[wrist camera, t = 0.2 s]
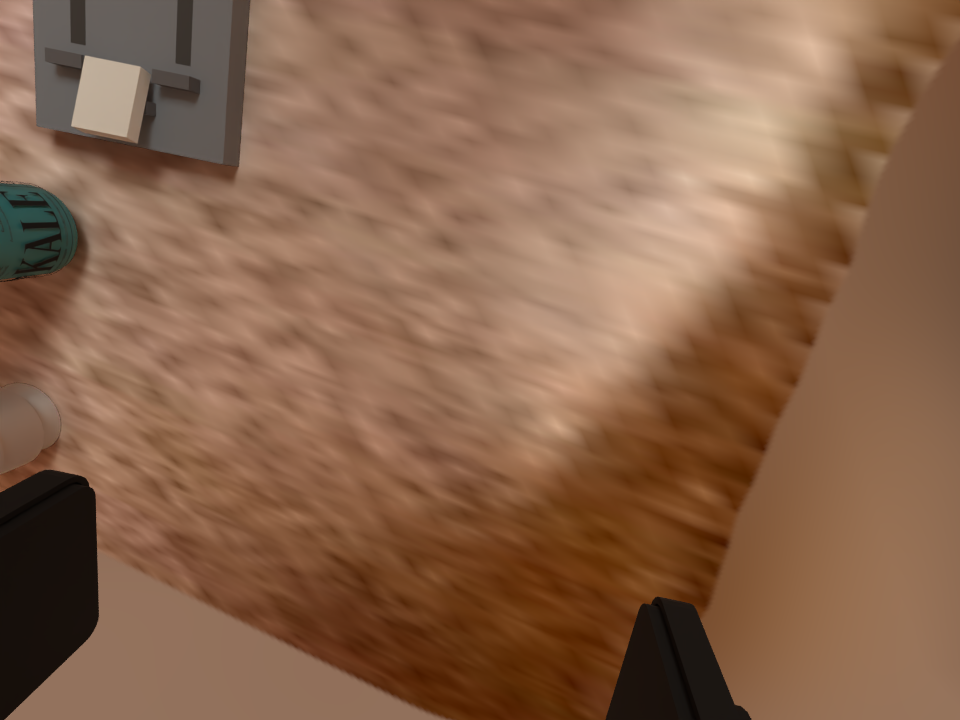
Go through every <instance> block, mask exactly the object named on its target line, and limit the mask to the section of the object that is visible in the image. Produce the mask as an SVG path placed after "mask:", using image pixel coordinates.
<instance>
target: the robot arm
mask: <svg viewBox="0 0 960 720" xmlns="http://www.w3.org/2000/svg"><path fill="white" fill-rule="evenodd" d="M98 609H99V607H98V570H97V533H96V498H95V492H94V490H93V489H92V488H90V487H89V483H88V481H87V480H86V478H84V477H82V476H79V475H74V474H69V473H65V472H60V471H55V470H44V471H41V472H38V473H37V474H35V475H33V476H31V477H29V478H27V479H25V480H23V481H21V482H20V483H18V484H16V485H14V486H12V487H10V488H8V489H6V490H5V491H3V492H1V493H0V720H4V719H6V718H7V717H8V716H9V715H10V714H11V713H12V712H13V711H14V710H15V709H16V708H17V707H18V706H19V705H20V704H21V703H22V702H23V701H24V700H25V699H26V698H27V697H28V696H29V695H30V694H31V693H32V692H33V691H35V690H36V689H37V688H38V687H39V686H40V685H41V684H42V683H43V682H44V681H45V680H46V679H47V678H48V677H49V676H50V675H51V674H52V673H53V672H54V671H55V670H56V669H57V668H58V667H59V666H61V665H62V664H63V663H64V662H65V661H66V660H67V659H68V658H69V657H70V656H71V655H72V654H73V653H74V652H75V651H76V650H77V649H78V648H79V647H80V646H81V645H82V644H83V643H84V642H85V641H86V640H87V639H88V638H89V637H90V636H91V634H92V632H93V631H94V629H95V627H96V625H97V622H98V617H99V610H98ZM606 720H751V718H750V716H749V714H748V712H747V711H745V710H744V709H743V708H742V707H741V706H737V705H735V704H734V702H733V699H732V697H731V695H730V692H729V690H728V687H727V685H726V682H725V680H724V677H723V675H722V672H721V670H720V667H719V665H718V662H717V660H716V658H715V655H714V653H713V650H712V648H711V645H710V643H709V640H708V638H707V635H706V633H705V630H704V628H703V625H702V623H701V620H700V618H699V615H698V613H697V611H696V609H695V607H694V605H692V604H690V603H685V602H681V601H676V600H671V599H666V598H662V597H655V599H654V600H653V601H652V604H651V605H649V604H642V605H641V607H640V609H639V612H638V615H637V618H636V622H635V625H634V628H633V631H632V635H631V638H630V641H629V644H628V648H627V651H626V654H625V658H624V661H623V664H622V667H621V671H620V674H619V677H618V681H617V684H616V687H615V690H614V694H613V697H612V700H611V703H610V707H609V710H608V713H607V717H606Z"/></svg>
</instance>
